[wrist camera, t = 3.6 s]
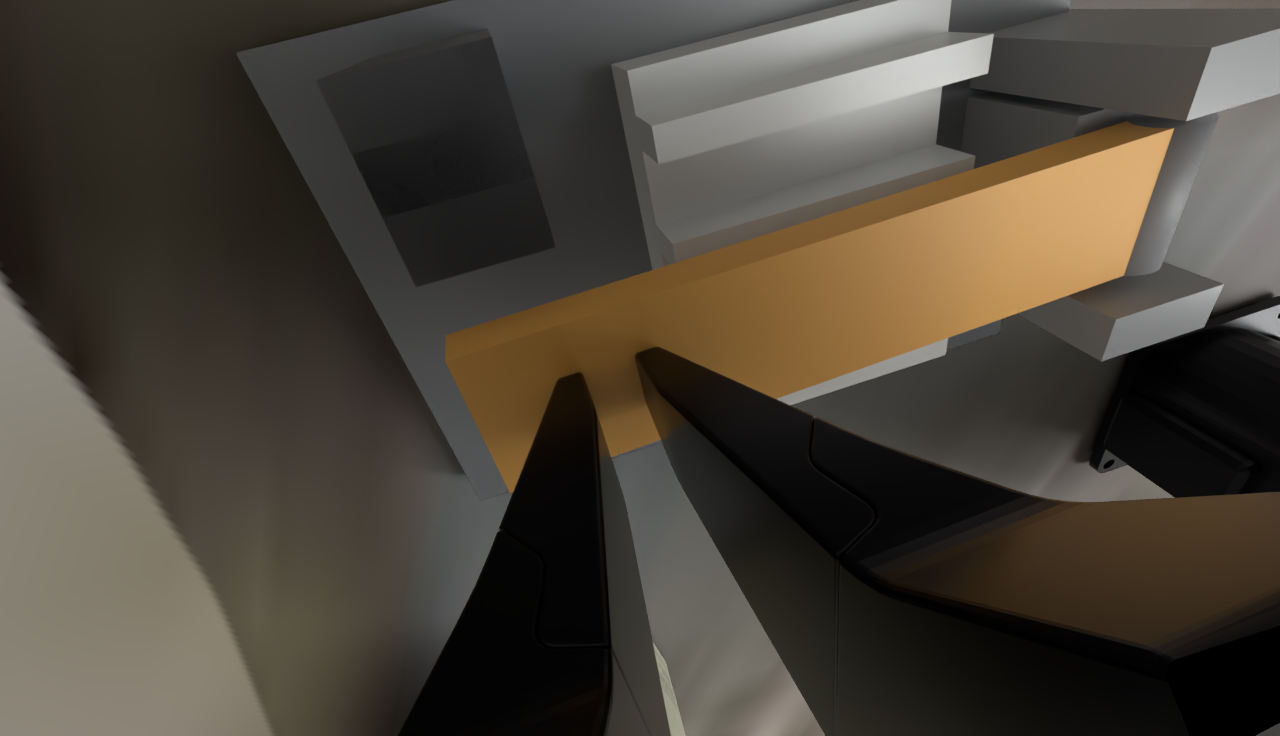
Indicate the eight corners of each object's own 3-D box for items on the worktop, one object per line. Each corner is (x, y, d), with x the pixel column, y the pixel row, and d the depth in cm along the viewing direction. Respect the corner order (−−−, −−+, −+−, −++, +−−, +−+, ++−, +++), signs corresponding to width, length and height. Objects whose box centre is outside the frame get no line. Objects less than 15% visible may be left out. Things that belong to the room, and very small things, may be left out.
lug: (486, 27, 10) (491, 37, 6) (529, 166, 12) (555, 247, 8) (381, 53, 10) (315, 81, 6) (438, 191, 12) (415, 287, 8)
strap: (1163, 105, 10) (1237, 113, 9) (1118, 243, 12) (1178, 263, 11) (445, 329, 9) (445, 368, 8) (505, 455, 10) (510, 501, 9)
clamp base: (1066, -147, 11) (1475, -257, 7) (980, 316, 17) (1158, 424, 13) (256, 49, 10) (58, 82, 5) (480, 475, 16) (480, 661, 11)
